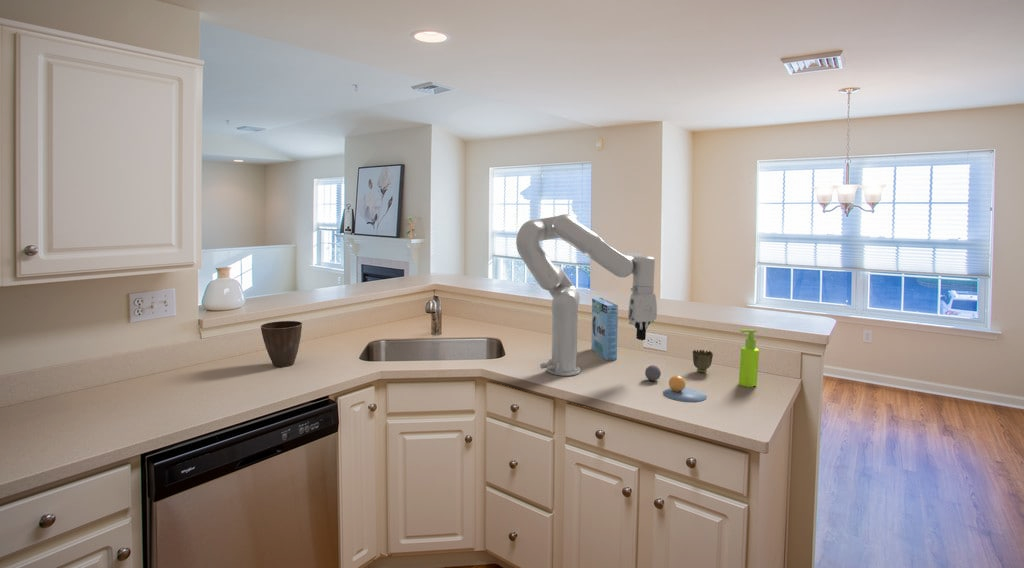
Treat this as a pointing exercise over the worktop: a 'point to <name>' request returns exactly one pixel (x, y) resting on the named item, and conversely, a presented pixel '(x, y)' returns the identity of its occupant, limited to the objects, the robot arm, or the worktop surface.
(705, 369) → the cup
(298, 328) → the plant pot
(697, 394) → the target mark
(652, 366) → the grey sphere
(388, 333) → the worktop surface
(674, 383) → the object ball
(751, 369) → the soap dispenser
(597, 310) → the gum box
